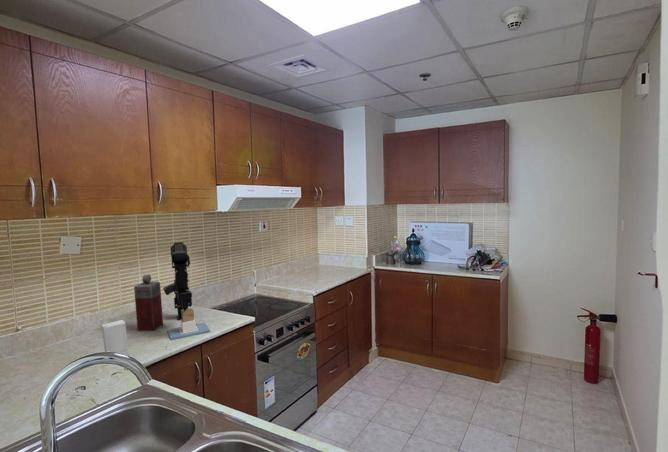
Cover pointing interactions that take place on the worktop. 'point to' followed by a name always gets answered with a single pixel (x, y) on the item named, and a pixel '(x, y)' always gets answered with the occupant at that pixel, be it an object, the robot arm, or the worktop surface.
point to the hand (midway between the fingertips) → (183, 308)
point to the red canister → (148, 305)
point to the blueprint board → (177, 332)
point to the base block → (188, 326)
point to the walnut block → (187, 315)
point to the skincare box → (115, 337)
